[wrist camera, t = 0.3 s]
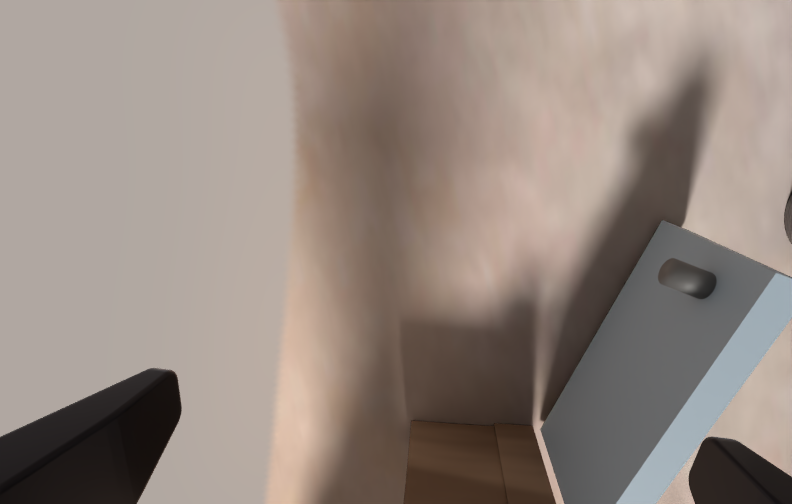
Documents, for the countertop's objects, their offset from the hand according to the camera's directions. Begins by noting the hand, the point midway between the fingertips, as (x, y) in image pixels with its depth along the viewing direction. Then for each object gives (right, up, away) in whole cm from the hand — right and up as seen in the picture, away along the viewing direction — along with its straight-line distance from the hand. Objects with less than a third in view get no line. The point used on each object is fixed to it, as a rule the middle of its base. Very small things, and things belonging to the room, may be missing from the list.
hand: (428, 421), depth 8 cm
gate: (+9, -1, +14) cm, 17 cm away
